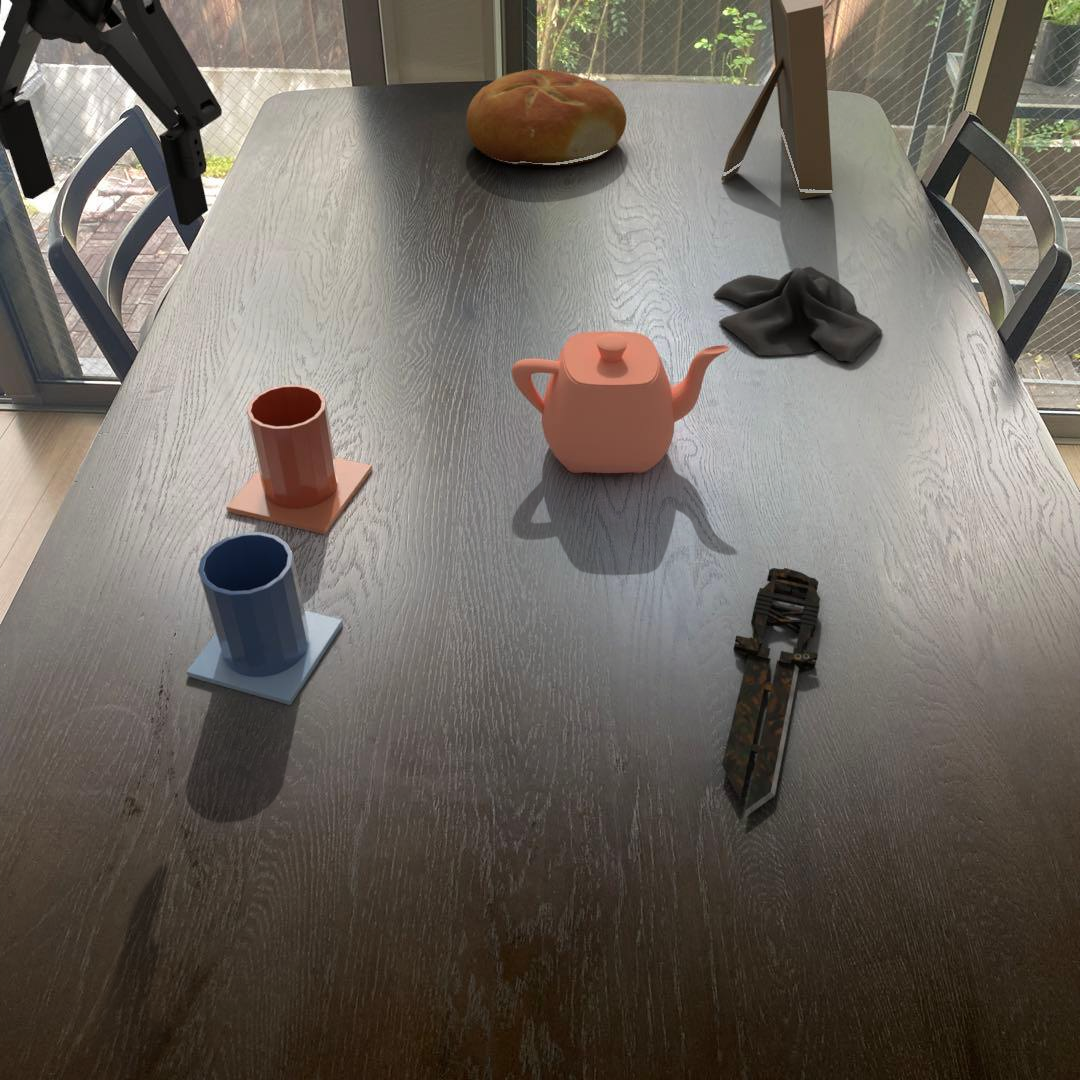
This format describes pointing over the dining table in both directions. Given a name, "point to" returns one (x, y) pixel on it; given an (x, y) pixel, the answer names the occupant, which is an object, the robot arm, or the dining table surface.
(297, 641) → the blue cup
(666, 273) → the dining table surface
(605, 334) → the teapot
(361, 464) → the red pad
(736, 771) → the knife
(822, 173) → the photo frame
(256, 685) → the blue pad
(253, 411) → the red cup
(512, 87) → the bread
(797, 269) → the cloth
